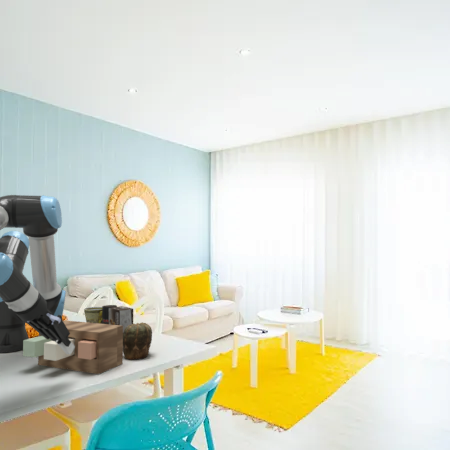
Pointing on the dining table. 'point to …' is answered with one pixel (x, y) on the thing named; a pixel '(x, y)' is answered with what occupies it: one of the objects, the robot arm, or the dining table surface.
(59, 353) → the key cream
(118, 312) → the coffee box
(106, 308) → the deodorant
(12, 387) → the dining table surface
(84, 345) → the key terracotta
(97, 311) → the ceramic cup
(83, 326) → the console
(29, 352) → the key sage
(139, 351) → the shell
